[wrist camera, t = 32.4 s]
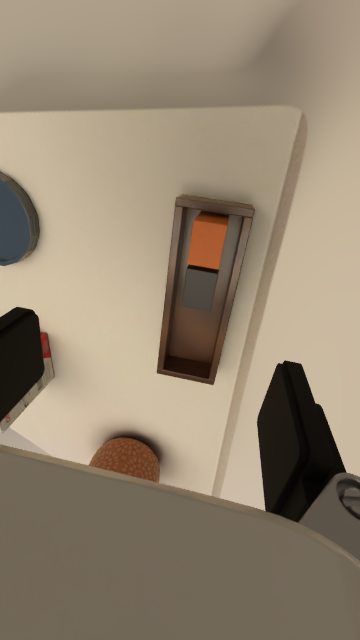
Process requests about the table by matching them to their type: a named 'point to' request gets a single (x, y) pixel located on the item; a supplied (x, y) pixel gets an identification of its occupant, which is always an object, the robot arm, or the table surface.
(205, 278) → the black block
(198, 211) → the holder
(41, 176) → the table surface
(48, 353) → the ink box
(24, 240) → the bowl
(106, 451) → the planter
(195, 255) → the orange tall block
